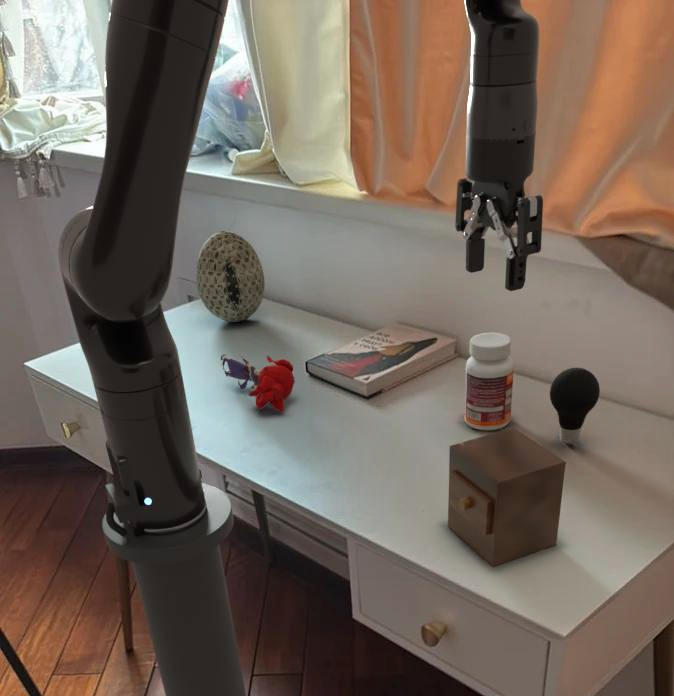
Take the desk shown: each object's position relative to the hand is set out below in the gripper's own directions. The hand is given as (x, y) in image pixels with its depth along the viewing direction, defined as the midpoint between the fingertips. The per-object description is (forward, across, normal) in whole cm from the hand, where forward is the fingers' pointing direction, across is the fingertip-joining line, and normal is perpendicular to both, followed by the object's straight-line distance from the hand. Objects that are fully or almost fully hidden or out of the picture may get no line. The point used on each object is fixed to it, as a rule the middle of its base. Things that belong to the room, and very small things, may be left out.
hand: (494, 279), depth 103 cm
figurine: (+19, -24, -24) cm, 39 cm away
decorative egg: (+19, -58, -15) cm, 63 cm away
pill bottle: (+19, 0, 0) cm, 19 cm away
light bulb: (+19, +11, +5) cm, 22 cm away
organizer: (+19, +24, -14) cm, 34 cm away
